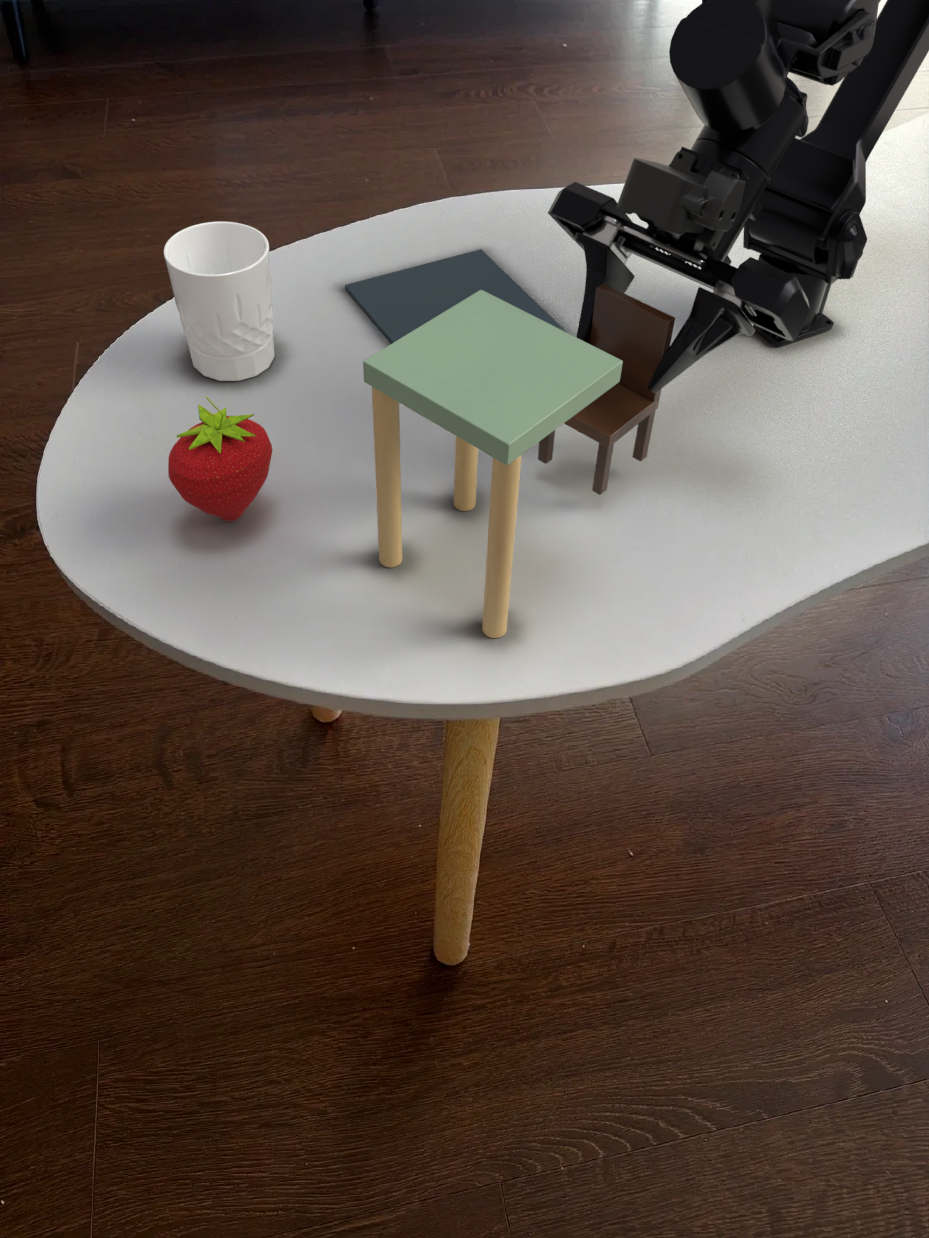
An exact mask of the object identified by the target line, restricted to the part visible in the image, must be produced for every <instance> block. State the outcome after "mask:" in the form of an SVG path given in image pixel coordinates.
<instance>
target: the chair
mask: <svg viewBox="0 0 929 1238" xmlns="http://www.w3.org/2000/svg"><path fill="white" fill-rule="evenodd" d="M675 322H676V317H675V316H673V315H671V314H669V313H667V312H664V311H662V310H660V309H658V308H656V307H653V306H652V305H650V304H647V303H646V302H643V301H641V300H639V299H637V298H635V297H633V296H630V295H628V294H626V293H622V292H620V291H618V290H616V289H614V288H612V287H609V286H607V285H605V284H602V285H600V286H599V287H597V288H596V295H595V303H594V311H593V319H592V327H591V336H590V345H592V346H594V347H596V348H598V349H600V350H602V351H604V352H606V353H608V354H610V355H612V356H614V357H616V358H618V359H620V360H622V361H623V364H622V370H621V376H620V381H619V382H618V383H617V384H616V385H614V386H613V387H612V388H610V389H609V390H608V391H606V392H605V393H604V394H602V395H601V396H600V397H598V398H597V399H596V400H594V401H593V402H592V403H590V404H589V405H588V406H586V407H585V408H584V409H582V410H581V411H580V412H578V413H577V414H576V415H574V416H573V417H572V418H570V419H569V420H568V421H566V422H565V423H563V424H564V425H566V426H568V427H569V428H571V429H573V430H575V431H577V432H578V433H581V434H582V435H584V436H585V437H588V438H589V439H592V440H593V441H595V442H597V443H598V447H597V454H596V461H595V469H594V474H593V481H592V487H591V491H592V492H594V493H595V494H597V495H599V496H602V495H603V494H604V493H605V492H606V491H607V489H608V483H609V477H610V470H611V465H612V460H613V453H614V446H615V444H616V442H618V441H619V440H620V439H621V438H622V437H624V436H625V435H626V434H627V433H629V432H630V431H631V430H632V429H634V428H635V427H636V426H637V429H636V435H635V440H634V446H633V451H632V456H631V457H632V458H633V459H634V460H636V461H638V462H643V461H644V460H645V459H646V458H647V457H648V453H649V452H648V451H649V446H650V442H651V437H652V431H653V426H654V421H655V416H656V411H657V409H658V408H659V404H660V399H661V394H662V389H661V390H659V391H658V392H656V393H653V392H651V391H650V390H649V389H648V384H649V382H650V380H651V378H652V376H653V374H654V372H655V370H656V368H657V366H658V364H659V363H660V361H661V360H662V358H663V356H664V355H665V353H666V352H667V350H668V349H669V347H670V345H671V344H672V338H673V337H672V336H673V332H674V328H675ZM555 437H556V429H555V430H554V431H553V432H551V433H550V434H549V435H547V436H546V437H545V438H543V439H542V440H541V441H539V442H538V454H537V460H538V461H540V463H541V462H542V463H543V464H545V465H547V464H548V463H549V462H550V461H552V460H553V455H554V445H555Z"/></svg>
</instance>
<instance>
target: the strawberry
mask: <svg viewBox="0 0 929 1238" xmlns="http://www.w3.org/2000/svg"><path fill="white" fill-rule="evenodd" d="M205 398H206V400H207V401H208V402H209V403H210V404H211V405H212V406H213V407H214V409H216V410H217V411H216V412H215V413H212V412H211V411H210V410H208V409H206V408H205V407H204V406H202V405H201V404H198V405H197V409H198V418H199V420H200V421H201V422H199V423H197V424H195V425H193V426H192V427H190V428H189V429H188V430H185V431H183V432H180V433H179V434H176V438H177V439H178V440H177V441H176V442H175V443H174V445H173V446H172V448H171V449H170V451H169V455H168V462H167V463H168V467H167V468H168V469H167V473H168V479H169V481H170V482H171V484H172V485H173V487H174V488H175V490H176V491H177V493H178V494H179V495H180V497H181V499H182V500H184V502H185V503H187V504H189V505H191V506H193V507H195V508H196V509H198V510H200V511H202V512H203V513H206V514H208V515H211V516H214V517H217V518H219V519H221V520H223V521H225V522H234V521H237V520H238V519H239V518H241V517H242V515H244V513H245V511H246V510H247V509H248V508H249V506H250V505H251V504H252V503H253V501H254V500H255V499H256V497H257V495H258V494H259V492H260V490H261V489H262V487H263V486H264V484H265V482H266V481H267V478H268V476H269V472H270V467H271V466H270V465H271V461H272V457H273V445H272V442H271V440H270V437H269V434H268V432H267V431H266V429H265V428H264V426H262V425H261V424H260V423H258V422H257V421H255V420H252V419H251V418H253V417H254V416H255V414H254V413H249V414H240V415H238V414H237V415H228V414H227V407H224V408H222V409H219V408H218V407H217V405H215V403H214V402H213V401H212V400H211V399H210V398H209V397H208V396H207V395H206V396H205Z"/></svg>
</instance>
